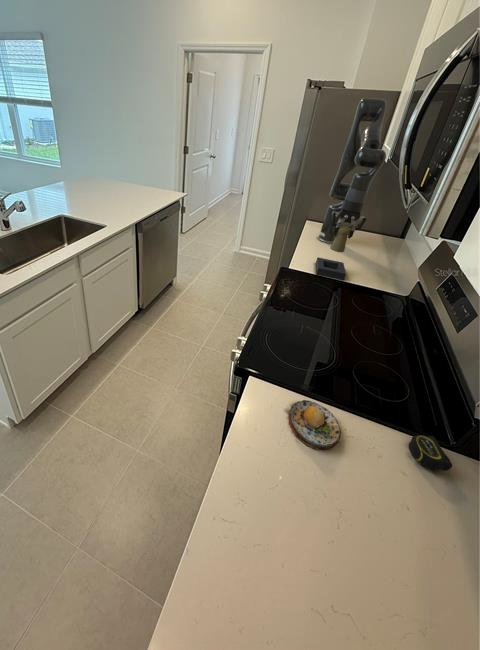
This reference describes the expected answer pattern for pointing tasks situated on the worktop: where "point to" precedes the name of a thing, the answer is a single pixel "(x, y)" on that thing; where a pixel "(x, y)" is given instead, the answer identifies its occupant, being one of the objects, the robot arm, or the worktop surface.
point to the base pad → (330, 268)
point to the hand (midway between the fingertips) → (341, 236)
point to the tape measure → (429, 453)
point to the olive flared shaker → (340, 239)
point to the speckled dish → (314, 425)
